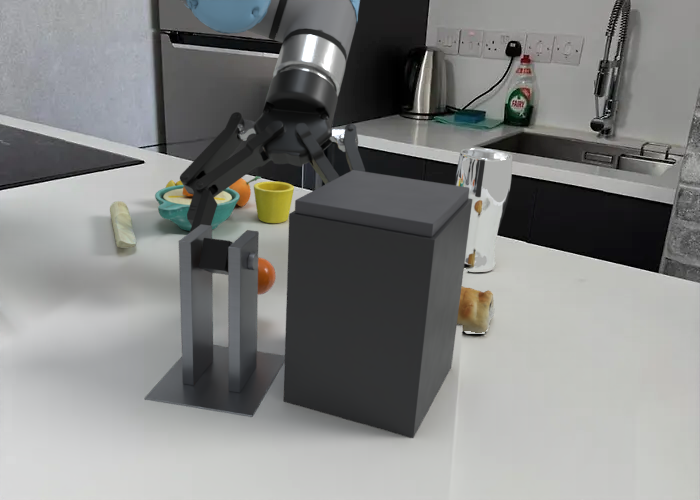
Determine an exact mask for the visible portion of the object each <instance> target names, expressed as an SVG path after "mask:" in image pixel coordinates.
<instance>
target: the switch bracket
mask: <svg viewBox="0 0 700 500" xmlns="http://www.w3.org/2000/svg"><path fill="white" fill-rule="evenodd" d="M259 235H260V234H259V231H258V230H251V229H247V230H245V231H244V232H243V233H242V234H241V235H240V236H238V237H237V239H235V240H234V241H232V244H231V245H230V246H229V247H228V275H227V279H228V284H227V285H228V287H227V288H228V289H227V292H228V295H227V298H228V299H227V301H228V303H227V304H228V305H227V307H228V308H227V311H228V312H227V315H228V319H227V320H228V321H227V324H228V327H227V329H228V334H227V335H228V336H227V337H228V345H227V346H226V345H225V346H224V345H217V344H216V345H215V344H214V309H213V308H214V302H213V301H214V300H213V298H214V297H213V296H214V291H213V290H214V288H213V273H210V272H208V271H206V270H203V269H201V268H199V261H200V256H201V250H202V245H203V239H204V238H211V239H213V230H212V226H210V225H200V226H198V227H197V228H196V229H194V230H193V231H191V232H190V231H189V233H188V234H185V235H184V237H182V238H180V239H179V240H178V262H179V263H178V265H179V266H178V267H179V302H180V336H181V337H180V338H181V339H180V340H181V356H180V357H179V358H178V360H177V361H176V362H175V363H174V364H173V365H172V367H171V368H169V370H168V371H167V372H166V374H164V376H163V377H162V378H161V379H160V380H159V381H158V382H157V383H156V384H155V386H154V387H153V388H152V389H151V390H150V391H149V393H148V394H147V395H146V396H145V397H144V400H145V401H151V402H157V403H163V404H170V405H175V406H182V407H186V408H187V407H188V408H193V409H194V408H195V409H199V410H204V411H205V410H206V411H213V412H218V413H224V414H229V415H235V416H241V417H248V418H253V417H254V415H255V413H256V412H257V410H258V409H259V406H260V405H261V403H262V401H263V400H264V398H265V396H266V395H267V393H268V391H269V389H270V388H271V386H272V385H273V382H274V380H275V379H276V378H277V376H278V374H279V372H280V370H281V368H282V367H283V365H284V364H285V354H278V353H271V352H270V353H269V352H265V351H258V300H259V299H258V297H259V295H258V257H259Z"/></svg>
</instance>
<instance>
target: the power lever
mask: <svg viewBox="0 0 700 500" xmlns="http://www.w3.org/2000/svg"><path fill="white" fill-rule="evenodd" d="M232 243H233V241H231V240H228V239H227V240H226V239H219V238H218V239H217V238H212V239H211V238H204V239H203V245H202V250H201V256H200V261H199V268H201V269H203V270H206V271H208V272H210V273H212V274H219V275H225V276H228V247H229V246H230V245H231V244H232ZM276 278H277V275H276V270H275V268H274V265H272V263H271V261H269V260H267V259H265V258H264V257H259V256H258V296H260V295H261V296H262V295H264V294H266V293H268V292H269V291H271V289H272V288H273V286H274V285H275V284H276V283H275V282H276V280H277V279H276Z"/></svg>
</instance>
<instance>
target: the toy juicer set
mask: <svg viewBox="0 0 700 500" xmlns="http://www.w3.org/2000/svg"><path fill="white" fill-rule="evenodd" d="M261 179H262V177H261V176H258V175H256V176H255V177H254V178H252V179H250V180H248V181H246V180H245V179H244V178H243V177H242V178H240V179H239V180H238V181H236V182H235V183H233V184H232V185H231V186H229V187H228V188H226V189H225V190H224V191H222V192H221V193H219V194H218V195H217V196H215V197H214V199H215V201H216V203H217V207H216V211H215V214H214V217H213V220H212V224H211V226H212V231H213V230H215V229H216V228H218V226H219V225H221V224H223V223H224V222H225V221H226V220H228V219H229V218H230V217H231V215H232V213H233V211H234V209H235V207H236V205H237V206H239V207H244V206H245V205H246V204H247V203H248V202H249V201H250V199H251V194H252V192H251V185H250V183H253V182H256V181H257V180H261ZM294 190H295V186H294V185H293V184H290V183H288V182H283V181H273V180H272V181H259V182H256V183H255V184H253V191H254V192H253V193H254V198H255V206H256V213H257V218H258V220H259V221H261V222H263V223H267V224H280V223H285V222H286V221H288V220H289V214H290V213H291V212H290V211H291V206H292V201H293V196H294ZM192 197H193V194H189V193H188V192H187V191H186V189H185V187H184V185H183V184H182V182H181V180H180V179H179V180H177V181H174V180H173V179H170V180H169V181H168V182H167V184H166V185H165V187H164V188H161V189H159V190H158V191H156V192H155V194H154V198H155V200H156V201H157V203H158V204H159V205H158V206H157V209H158V213H159V216H160V217H161V218H163V219H165V220H169V221H170V222H172V223H174V224H175V225H177V226H178V228H179V229H181V230H182V231H183V230H184V231H188V232H190V230H191V227H192V225H191V224H190V222H189V221H188V219H187V213H188V210H189V207H190V204H191V200H192ZM109 213H110V218H111V224H112V229H113V233H114V238H115V243H116V247H117V248H122V249H123V248H125V249H127V248H129V249H130V248H133V247H136V245H137V239H136V235H135V232H134V227H133V221H132V217H131V214H130V211H129V207H128V205H127V203H125V202H124V201H121V200H116V201H114V202H112V203H111V205H110V207H109Z"/></svg>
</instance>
